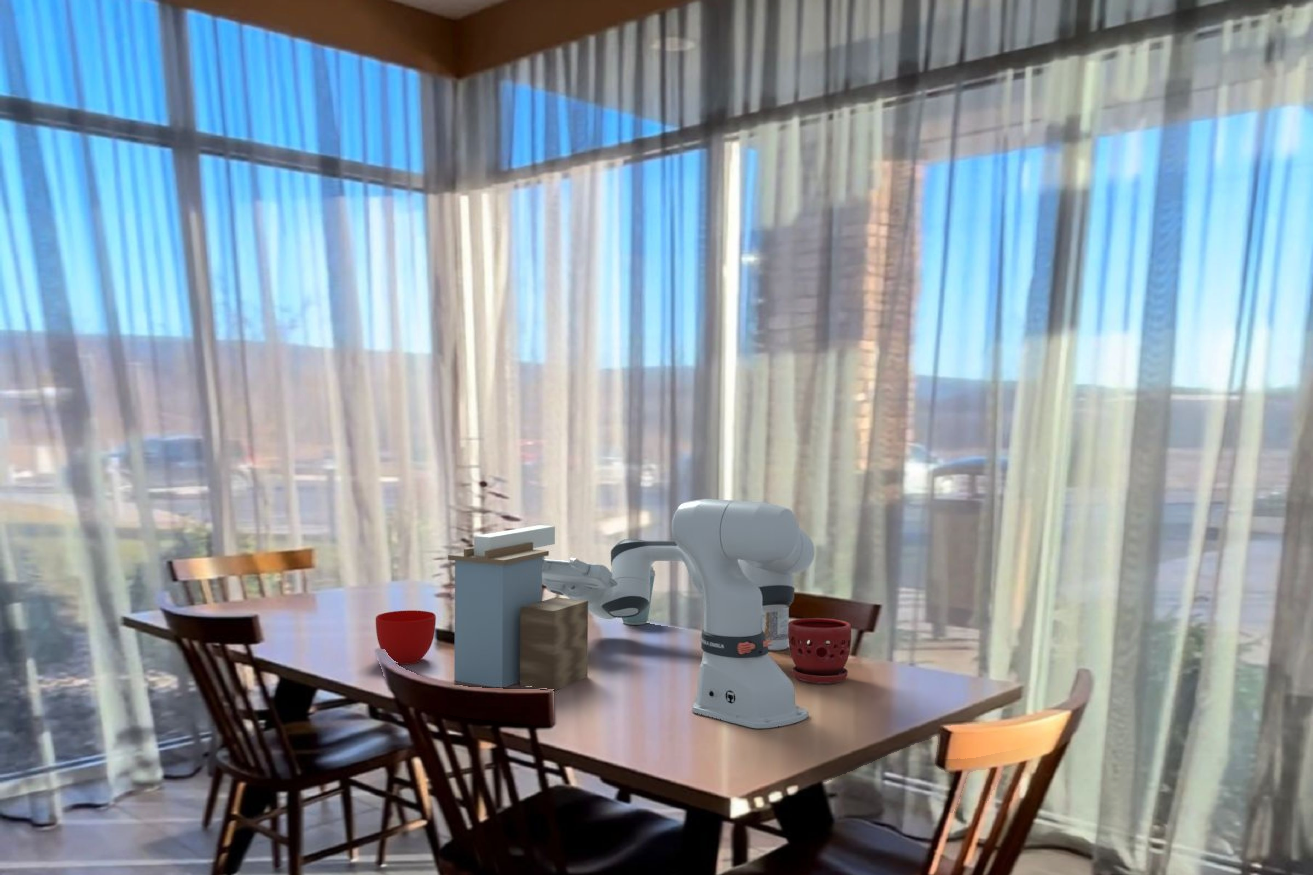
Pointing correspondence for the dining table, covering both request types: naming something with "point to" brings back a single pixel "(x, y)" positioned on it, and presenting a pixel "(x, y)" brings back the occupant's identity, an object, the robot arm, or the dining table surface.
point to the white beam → (514, 538)
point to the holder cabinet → (493, 611)
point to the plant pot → (819, 649)
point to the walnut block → (553, 643)
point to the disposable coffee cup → (643, 616)
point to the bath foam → (776, 628)
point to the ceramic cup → (406, 634)
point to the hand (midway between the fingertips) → (554, 559)
